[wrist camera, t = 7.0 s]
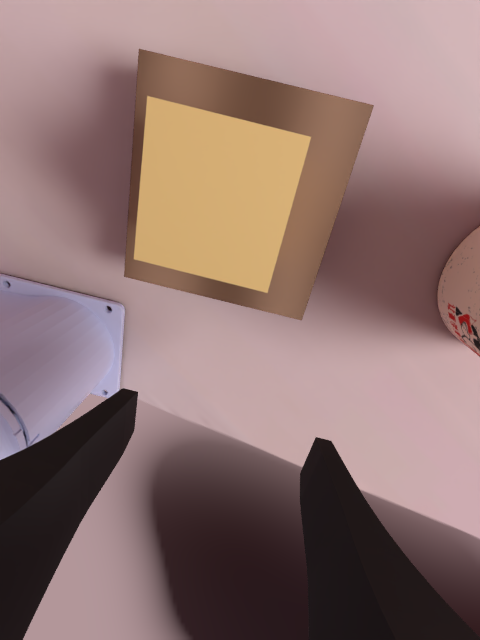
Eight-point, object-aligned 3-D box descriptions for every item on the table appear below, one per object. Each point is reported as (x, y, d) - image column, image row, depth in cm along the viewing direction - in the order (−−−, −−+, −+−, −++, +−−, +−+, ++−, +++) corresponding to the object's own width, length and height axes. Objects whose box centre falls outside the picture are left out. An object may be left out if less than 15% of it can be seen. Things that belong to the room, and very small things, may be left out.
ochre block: (174, 238, 16) (133, 259, 11) (190, 126, 14) (147, 96, 9) (269, 262, 16) (267, 292, 11) (299, 153, 14) (311, 137, 9)
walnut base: (145, 264, 20) (124, 276, 17) (163, 73, 15) (138, 48, 13) (297, 301, 19) (301, 320, 17) (356, 119, 15) (373, 105, 13)
